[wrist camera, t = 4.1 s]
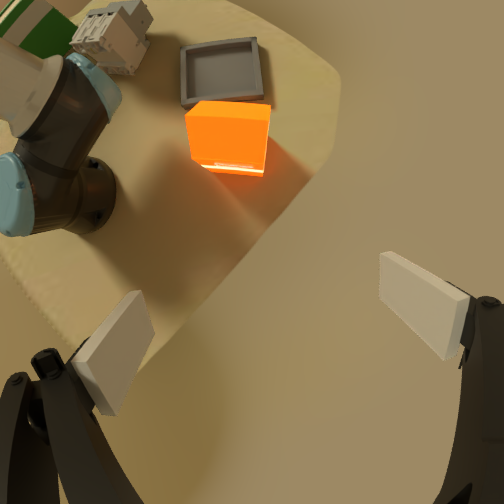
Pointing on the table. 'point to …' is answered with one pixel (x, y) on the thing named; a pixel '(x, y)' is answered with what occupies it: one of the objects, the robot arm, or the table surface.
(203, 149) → the juice carton
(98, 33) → the circuit breaker
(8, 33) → the green box
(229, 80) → the tray
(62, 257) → the table surface
